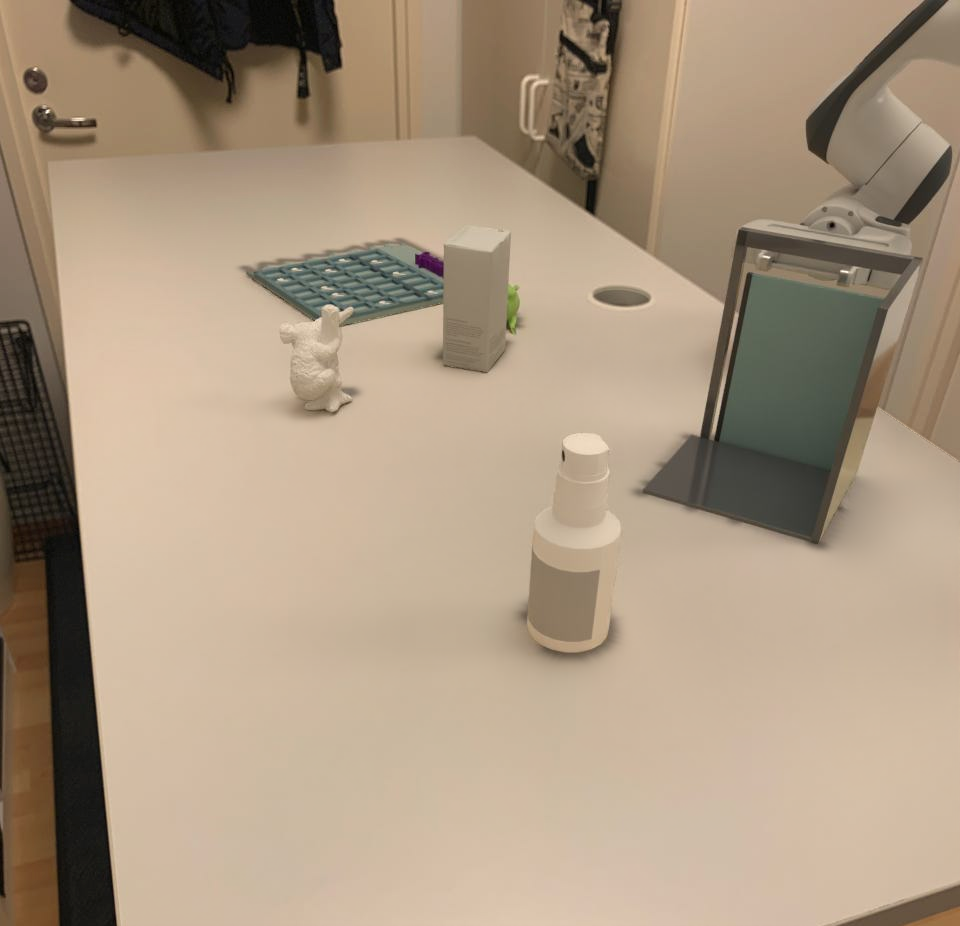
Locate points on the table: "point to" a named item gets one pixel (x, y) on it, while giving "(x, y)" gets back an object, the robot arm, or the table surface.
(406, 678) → the table surface
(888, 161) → the robot arm
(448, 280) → the cosmetic box
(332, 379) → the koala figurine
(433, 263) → the calendar
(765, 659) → the table surface
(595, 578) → the spray bottle
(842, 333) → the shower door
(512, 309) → the green animal figurine
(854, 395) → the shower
